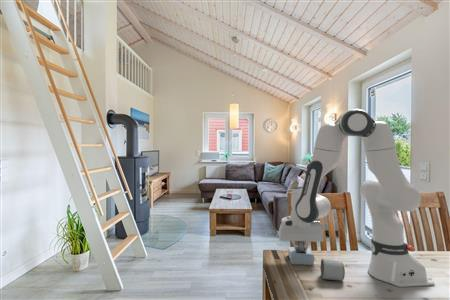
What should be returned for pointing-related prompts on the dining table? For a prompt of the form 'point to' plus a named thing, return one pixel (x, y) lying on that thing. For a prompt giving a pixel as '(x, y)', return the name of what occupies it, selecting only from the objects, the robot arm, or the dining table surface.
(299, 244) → the pin
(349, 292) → the dining table surface
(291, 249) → the collar block
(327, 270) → the ceramic mug
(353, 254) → the dining table surface
